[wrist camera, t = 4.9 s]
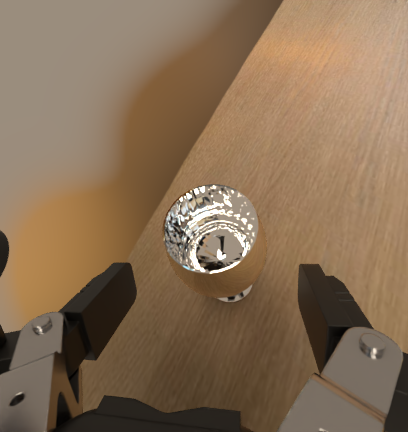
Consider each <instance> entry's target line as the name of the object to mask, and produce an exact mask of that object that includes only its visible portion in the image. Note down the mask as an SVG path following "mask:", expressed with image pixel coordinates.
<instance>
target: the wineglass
mask: <svg viewBox="0 0 408 432" xmlns="http://www.w3.org/2000/svg"><path fill="white" fill-rule="evenodd" d="M163 240H164V244H165V248H166V252H167V257H168V259H169V261H170V264H171V266H172V268H173V270H174V271H175V273H176V275H177V276H178V277H179V278H180V280H181V281H182V282H183V283H184V284H185V285H186V286H187V287H189V288H190V289H191V290H193V291H195V292H196V293H199V294H201V295H204V296H207V297H212V298H217V299H219V300H221V301H224V302H236V301H239V300H241V299H243V298H244V297H246V296H247V295H248V293H249V292H250V290H251V289H252V286H253V283H254V282H255V281H256V280H257V278H258V277H259V275H260V274H261V272H262V270H263V267H264V264H265V261H266V254H267V240H266V234H265V231H264V228H263V224H262V222H261V220H260V218H259V216H258V214H257V212H256V211H255V209H254V207H253V205H252V204H251V202H250V201H249V200H248V199H247V198H246V197H245V196H244V195H243V194H242V193H240V192H239V191H237V190H235V189H233V188H230V187H228V186H223V185H204V186H199V187H197V188H194V189H191V190H189V191H188V192H186V193H184V194H183V195H181V196H180V197H179V198H178V199H177V200H176V201H175V202H174V203H173V204H172V206H171V207H170V209H169V210H168V212H167V215H166V217H165V220H164V223H163Z"/></svg>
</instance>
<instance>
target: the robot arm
mask: <svg viewBox="0 0 408 432" xmlns="http://www.w3.org/2000/svg"><path fill="white" fill-rule="evenodd" d="M136 294H137V290H136V285H135V280H134V275H133V270H132V266H131V264H130V263H113V264H112V265H111V266H110V267H109V268H108V269H107V270H106V271H105V272H103V273H102V274H100V275H98V276H97V277H95V278H93V279H92V280H91V281H90V282H89V283H88V284H87V285H86V287H84V288H83V289H82V290H81V291H80V293H77V294H76V295H75V296H74V297H73V298H72V299H71V300H70V301H69V302H68V303H67V304H66V305H65V306H64V307H63V308H62V309H61V310H60V311H59V312H50V313H46V314H43V315H41V316H38V317H36V318H35V319H33V320H32V321H30V322H29V323H27V324H26V325H25V326H24V327H23V328H22V330H20V331H15V332H10V333H4V331H3V329H2V327H1V325H0V432H253V431H251V430H250V429H248V428H246V427H244V426H242V425H241V414H240V411H233V410H225V409H216V408H208V407H201V408H196V409H190V410H184V411H178V412H172V413H164V412H161V411H159V410H157V409H155V408H153V407H151V406H149V405H147V404H145V403H142V402H140V401H138V400H136V399H132V398H123V397H115V396H106V395H104V397H103V399H102V401H101V402H100V404H99V406H98V408H97V409H93V410H90V411H87V412H84V413H83V389H82V368H81V366H80V364H81V363H82V361H83V360H84V359H85V360H97V358H98V357H99V355H100V354H101V352H102V351H103V349H104V348H105V346H106V345H107V343H108V341H109V340H110V338H111V337H112V335H113V334H114V332H115V331H116V329H117V328H118V326H119V325H120V323H121V322H122V320H123V319H124V317H125V316H126V314H127V312H128V311H129V309H130V308H131V306H132V305H133V303H134V302H135V299H136ZM298 304H299V309H300V312H301V315H302V318H303V322H304V325H305V328H306V331H307V334H308V338H309V341H310V344H311V347H312V350H313V354H314V357H315V360H316V363H317V366H318V370H319V373H320V375H318V374H317V373H314V374H312V375H311V377H310V378H309V380H308V381H307V383H306V384H305V386H304V388H303V389H302V391H301V393H300V394H299V396H298V397H297V399H296V401H295V402H294V404H293V406H292V407H291V409H290V410H289V412H288V414H287V415H286V417H285V419H284V420H283V422H282V423H281V425H280V427H279V428H278V430H277V432H408V354H406V353H404V352H402V351H401V349H400V348H399V346H398V345H397V344H396V343H395V342H394V341H393V340H392V339H391V338H389V337H388V336H386V335H385V334H383V333H381V332H379V331H376V330H374V329H373V327H372V326H371V324H370V323H369V321H368V320H367V318H366V317H365V315H364V314H363V312H362V311H361V309H360V308H359V306H358V304H357V303H356V302H355V301H354V298H353V297H352V295H351V294H350V293H349V291H348V289H347V288H346V286H345V285H344V283H342V282H341V281H340V280H338V279H337V278H335V277H334V276H325V274H324V272H323V270H322V269H321V267H320V265H319V264H300V265H299V278H298Z"/></svg>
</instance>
